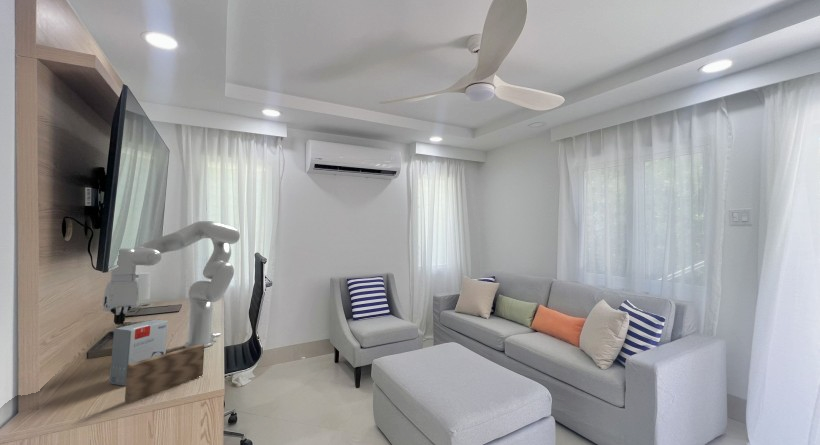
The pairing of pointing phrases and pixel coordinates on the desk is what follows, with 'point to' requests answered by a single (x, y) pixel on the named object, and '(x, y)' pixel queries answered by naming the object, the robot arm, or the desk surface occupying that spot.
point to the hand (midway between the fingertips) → (119, 323)
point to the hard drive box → (136, 346)
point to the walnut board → (163, 372)
